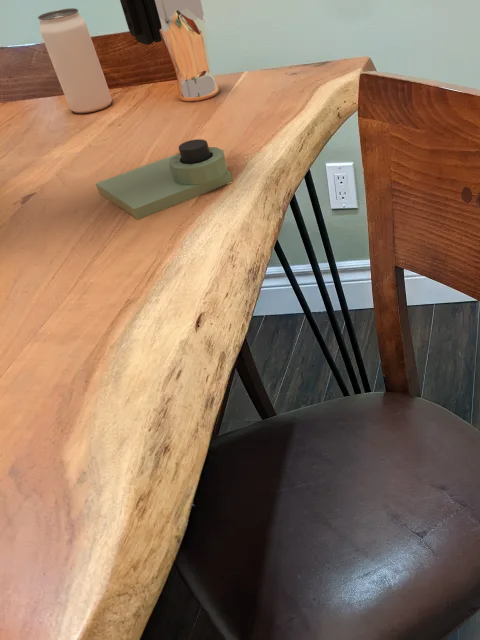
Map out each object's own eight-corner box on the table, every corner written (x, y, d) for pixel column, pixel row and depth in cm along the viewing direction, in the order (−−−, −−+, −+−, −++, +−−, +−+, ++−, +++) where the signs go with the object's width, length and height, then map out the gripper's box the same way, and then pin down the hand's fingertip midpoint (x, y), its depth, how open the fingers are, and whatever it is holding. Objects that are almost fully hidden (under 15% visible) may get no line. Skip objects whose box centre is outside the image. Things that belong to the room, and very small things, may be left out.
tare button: (191, 169, 76) (186, 152, 75) (178, 162, 78) (173, 146, 77) (216, 159, 77) (212, 143, 76) (203, 153, 79) (198, 137, 78)
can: (77, 117, 103) (40, 21, 94) (66, 108, 107) (30, 15, 98) (118, 105, 105) (86, 11, 96) (106, 97, 109) (74, 5, 100)
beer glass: (208, 102, 101) (176, -24, 90) (168, 103, 103) (131, -21, 92) (230, 87, 105) (201, -36, 95) (191, 87, 108) (158, -33, 97)
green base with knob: (140, 221, 74) (129, 193, 72) (99, 193, 81) (88, 167, 79) (239, 182, 79) (233, 154, 77) (193, 159, 86) (185, 133, 83)
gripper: (139, -216, 64) (196, 20, 77) (-23, -196, 58) (68, 54, 72) (174, -224, 59) (228, 28, 73) (3, -203, 54) (95, 66, 67)
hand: (149, 41), depth 72 cm, fingers closed
